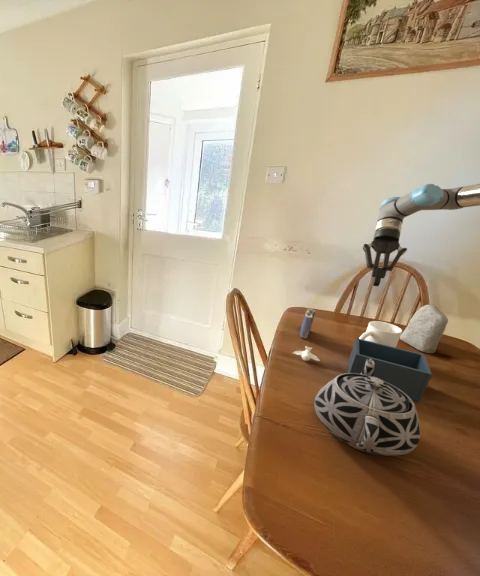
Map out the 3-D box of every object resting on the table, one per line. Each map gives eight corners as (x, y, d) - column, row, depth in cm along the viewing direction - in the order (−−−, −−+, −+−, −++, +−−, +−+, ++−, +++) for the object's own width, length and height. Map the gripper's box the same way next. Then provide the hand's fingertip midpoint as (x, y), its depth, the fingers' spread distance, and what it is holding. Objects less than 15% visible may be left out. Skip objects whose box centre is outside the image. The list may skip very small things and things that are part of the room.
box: (413, 380, 93) (424, 354, 89) (419, 402, 84) (432, 374, 81) (348, 361, 102) (355, 337, 98) (347, 380, 93) (355, 354, 90)
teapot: (403, 409, 82) (424, 361, 76) (421, 502, 59) (452, 443, 54) (316, 381, 93) (329, 337, 87) (303, 451, 70) (320, 397, 65)
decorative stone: (439, 355, 105) (457, 315, 99) (418, 353, 105) (435, 314, 100) (413, 338, 115) (429, 301, 109) (395, 337, 115) (409, 300, 110)
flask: (306, 340, 115) (313, 313, 111) (297, 337, 116) (304, 311, 113) (310, 330, 121) (317, 305, 117) (301, 328, 123) (308, 303, 119)
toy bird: (290, 357, 103) (294, 343, 103) (291, 355, 107) (295, 342, 107) (319, 366, 98) (323, 352, 98) (319, 364, 102) (323, 350, 102)
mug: (364, 362, 101) (374, 334, 98) (343, 348, 109) (352, 322, 105) (398, 359, 102) (409, 332, 99) (375, 346, 110) (384, 320, 106)
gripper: (368, 225, 124) (356, 276, 118) (413, 228, 116) (403, 283, 110) (364, 236, 130) (352, 285, 123) (406, 240, 122) (396, 292, 116)
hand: (376, 284), depth 117 cm, fingers closed
